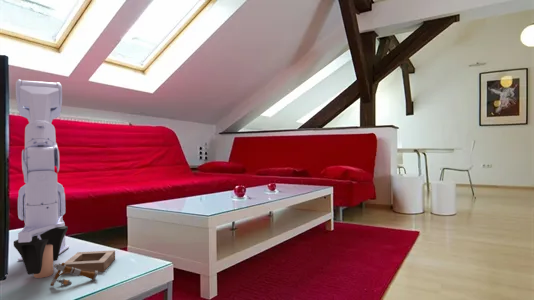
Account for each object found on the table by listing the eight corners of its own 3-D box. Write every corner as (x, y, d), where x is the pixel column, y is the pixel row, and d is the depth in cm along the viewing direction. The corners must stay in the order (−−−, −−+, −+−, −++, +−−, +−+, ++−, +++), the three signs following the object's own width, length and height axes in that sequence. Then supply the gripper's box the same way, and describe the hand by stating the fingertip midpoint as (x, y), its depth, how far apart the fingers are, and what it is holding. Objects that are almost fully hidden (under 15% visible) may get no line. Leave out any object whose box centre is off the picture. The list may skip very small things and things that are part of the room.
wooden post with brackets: (45, 282, 68) (56, 259, 68) (88, 290, 71) (97, 269, 72) (45, 285, 66) (55, 262, 67) (88, 294, 70) (98, 272, 70)
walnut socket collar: (78, 260, 82) (77, 252, 82) (115, 258, 83) (115, 250, 83) (62, 273, 74) (62, 264, 74) (103, 271, 75) (103, 262, 75)
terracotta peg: (39, 272, 75) (38, 244, 75) (56, 271, 76) (55, 244, 75) (30, 278, 72) (29, 249, 71) (48, 277, 72) (47, 248, 72)
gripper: (45, 208, 67) (47, 278, 67) (76, 197, 81) (77, 254, 81) (5, 210, 66) (7, 281, 66) (43, 198, 80) (44, 256, 80)
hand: (43, 266), depth 74 cm, fingers open, 7 cm apart
